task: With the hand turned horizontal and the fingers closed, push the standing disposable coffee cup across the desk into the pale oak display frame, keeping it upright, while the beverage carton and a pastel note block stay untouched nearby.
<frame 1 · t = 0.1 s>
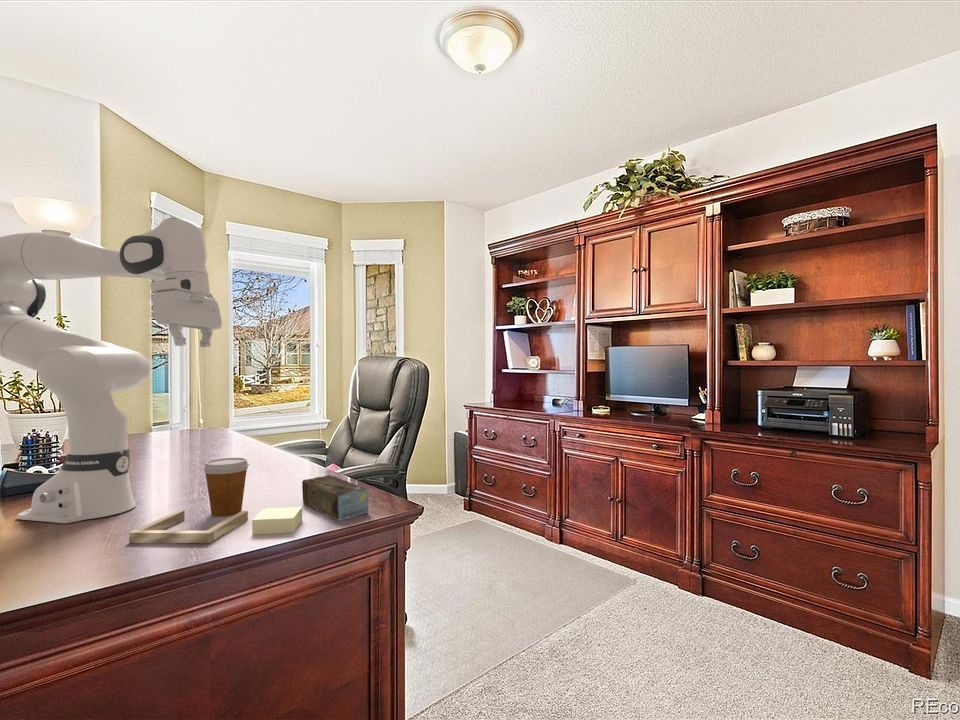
hand: (193, 346, 117), 39 cm above the table, tool pointing down, fingers open, 8 cm apart
note block: (278, 527, 106), on the table
beverage carton: (334, 510, 119), on the table
display frame: (194, 529, 104), on the table
disposable coffee cup: (226, 513, 116), on the table
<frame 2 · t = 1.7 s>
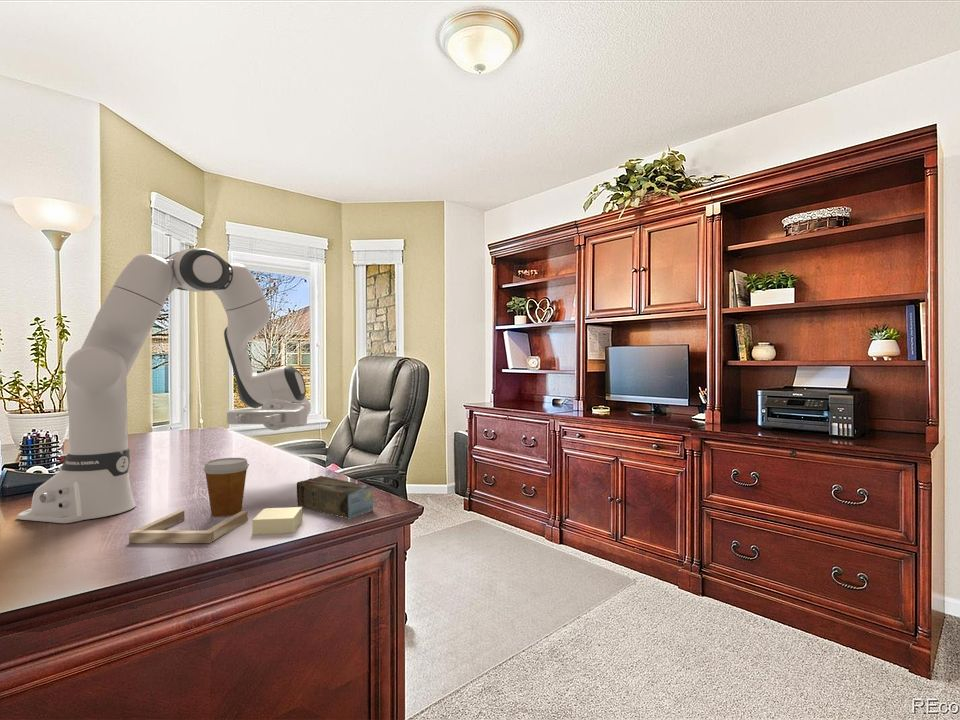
hand: (252, 419, 129), 20 cm above the table, tool horizontal, fingers open, 6 cm apart
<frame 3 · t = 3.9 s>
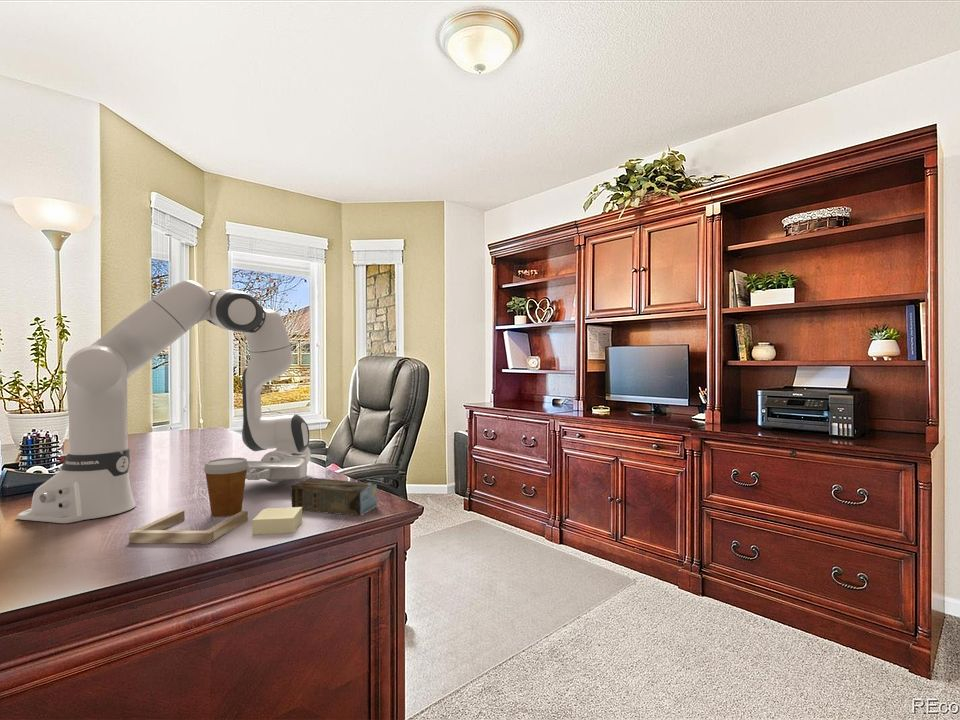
hand: (252, 476, 129), 6 cm above the table, tool horizontal, fingers closed
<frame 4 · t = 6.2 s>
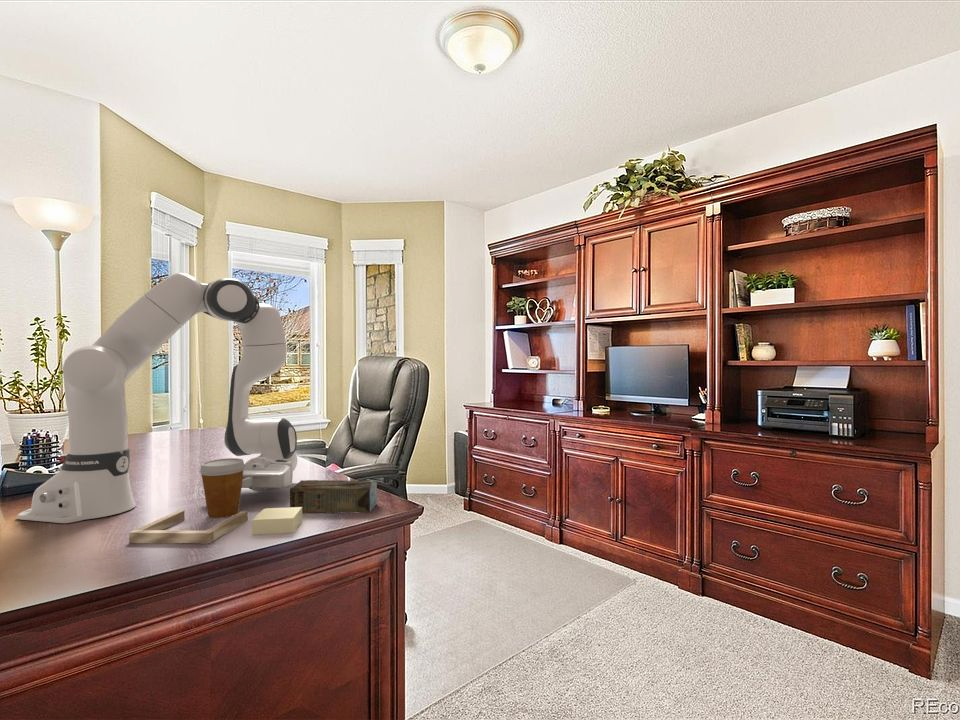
hand: (232, 485, 119), 6 cm above the table, tool horizontal, fingers closed, pressing on disposable coffee cup
disposable coffee cup: (223, 514, 115), on the table, touching gripper
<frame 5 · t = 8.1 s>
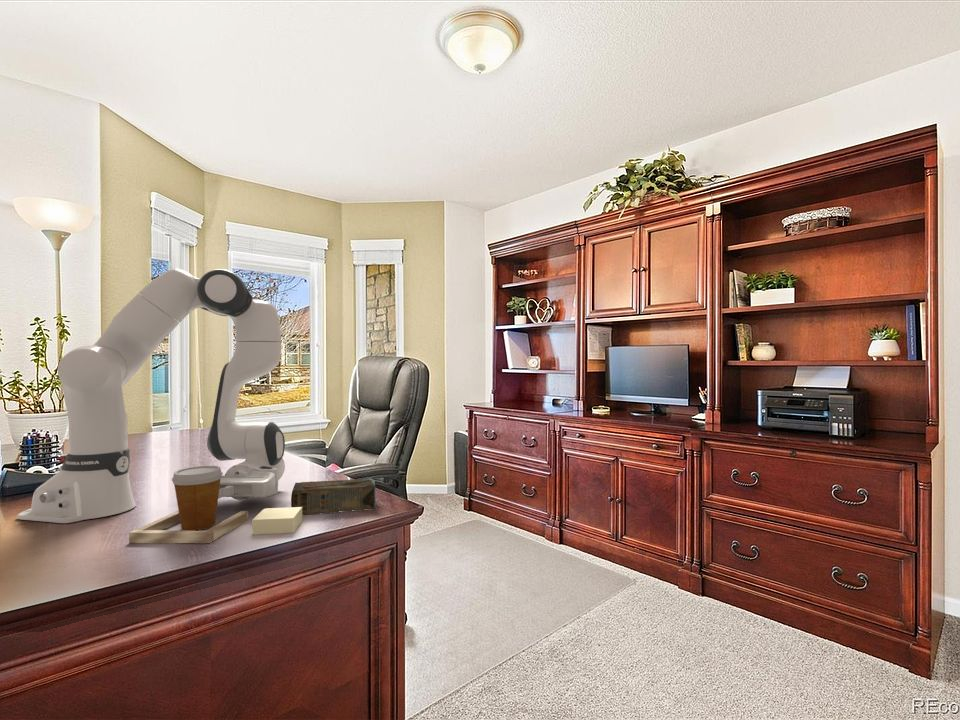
hand: (211, 495, 110), 6 cm above the table, tool horizontal, fingers closed, pressing on disposable coffee cup
disposable coffee cup: (198, 527, 106), on the table, touching gripper
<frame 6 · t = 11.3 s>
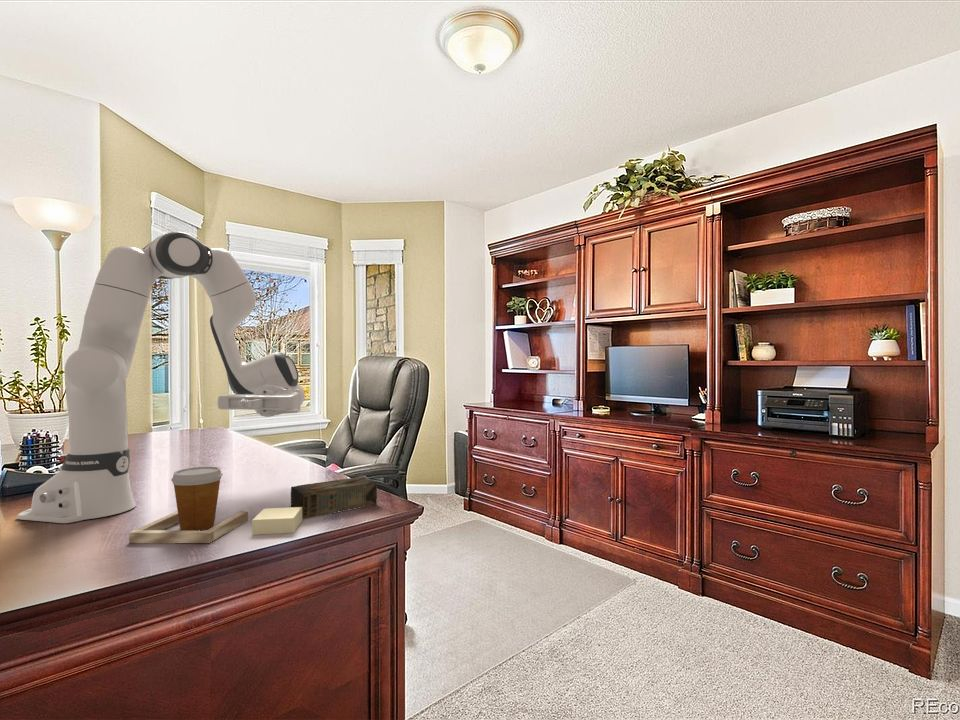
hand: (244, 404, 125), 25 cm above the table, tool horizontal, fingers closed
disposable coffee cup: (197, 528, 106), on the table
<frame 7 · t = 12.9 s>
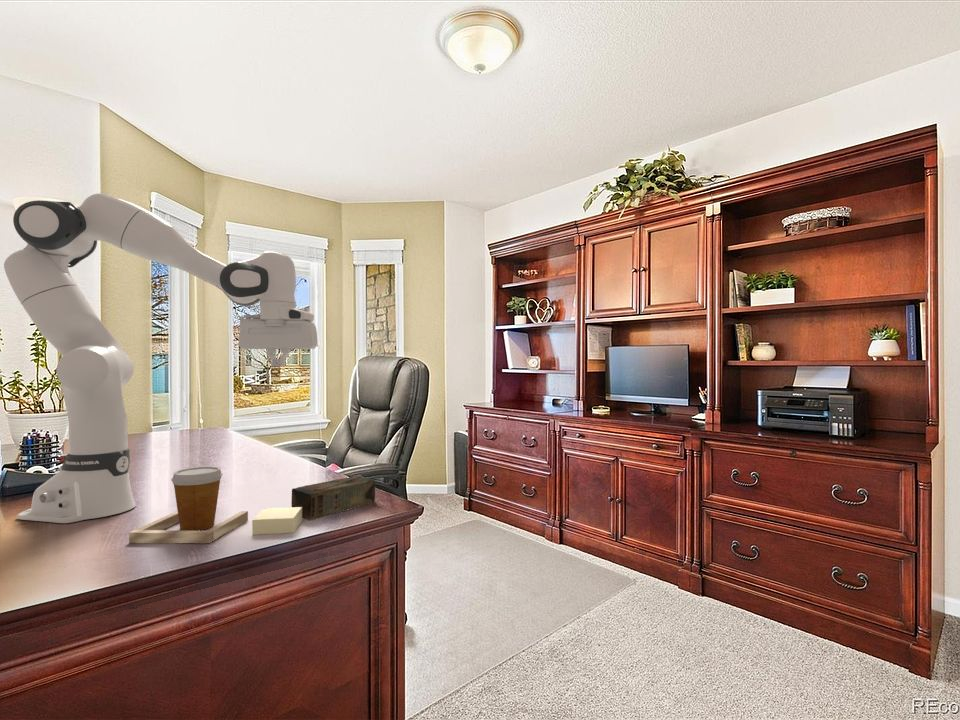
hand: (278, 366, 132), 34 cm above the table, tool pointing down, fingers closed
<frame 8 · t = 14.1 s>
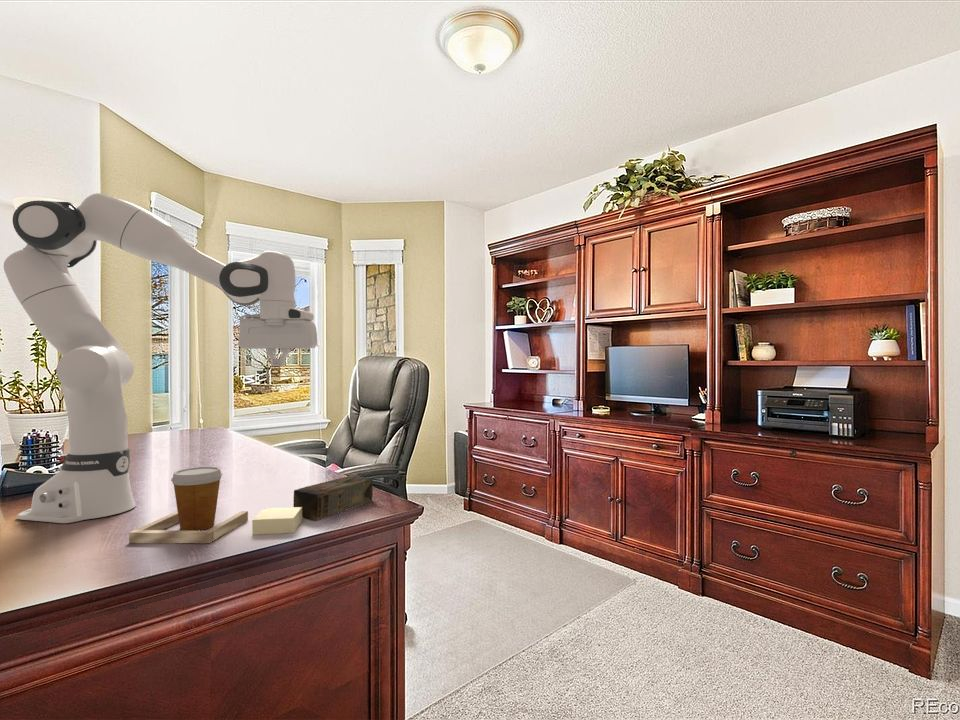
hand: (278, 365, 132), 34 cm above the table, tool pointing down, fingers closed
at the end: disposable coffee cup 1.6 cm from the display frame (horizontally); disposable coffee cup tilted 0° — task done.
